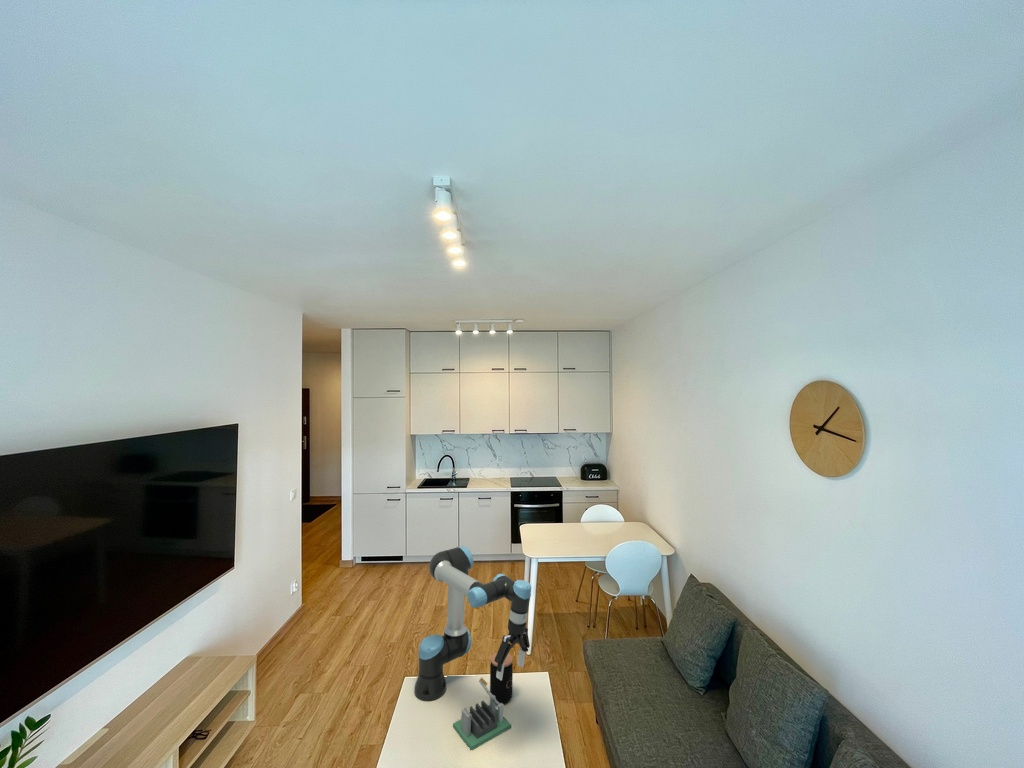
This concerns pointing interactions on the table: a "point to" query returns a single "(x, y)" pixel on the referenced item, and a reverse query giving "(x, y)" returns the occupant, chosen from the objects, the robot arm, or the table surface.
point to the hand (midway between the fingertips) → (509, 672)
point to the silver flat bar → (488, 690)
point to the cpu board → (481, 724)
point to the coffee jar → (504, 686)
